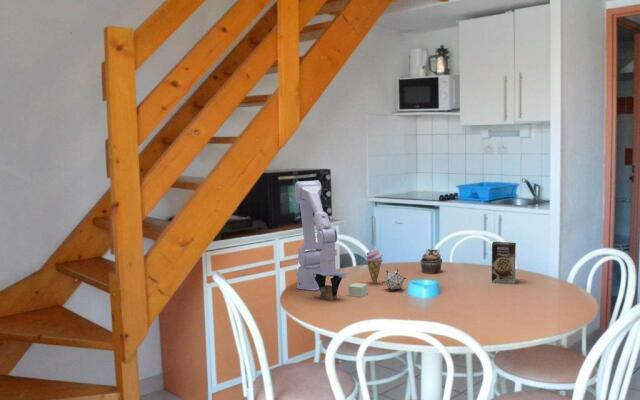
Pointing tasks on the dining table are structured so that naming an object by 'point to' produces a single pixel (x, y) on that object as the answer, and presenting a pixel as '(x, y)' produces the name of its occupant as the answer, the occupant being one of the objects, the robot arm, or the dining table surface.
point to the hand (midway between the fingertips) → (328, 294)
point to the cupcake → (431, 262)
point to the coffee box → (503, 262)
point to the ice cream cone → (374, 264)
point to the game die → (394, 280)
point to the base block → (358, 290)
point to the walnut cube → (327, 293)
